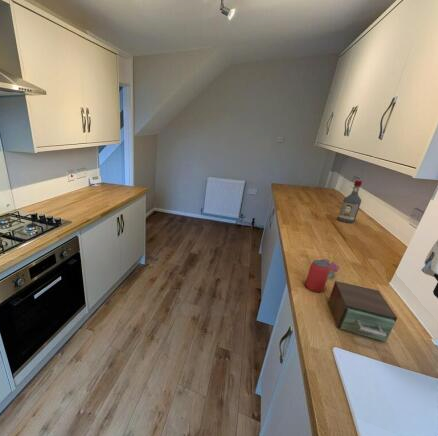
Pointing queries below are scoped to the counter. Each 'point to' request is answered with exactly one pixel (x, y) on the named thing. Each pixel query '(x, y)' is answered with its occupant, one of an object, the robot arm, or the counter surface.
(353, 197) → the liquor
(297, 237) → the counter surface
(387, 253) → the counter surface
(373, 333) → the drawer
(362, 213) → the counter surface
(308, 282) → the beer can
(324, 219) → the counter surface
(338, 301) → the cabinet
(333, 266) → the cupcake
